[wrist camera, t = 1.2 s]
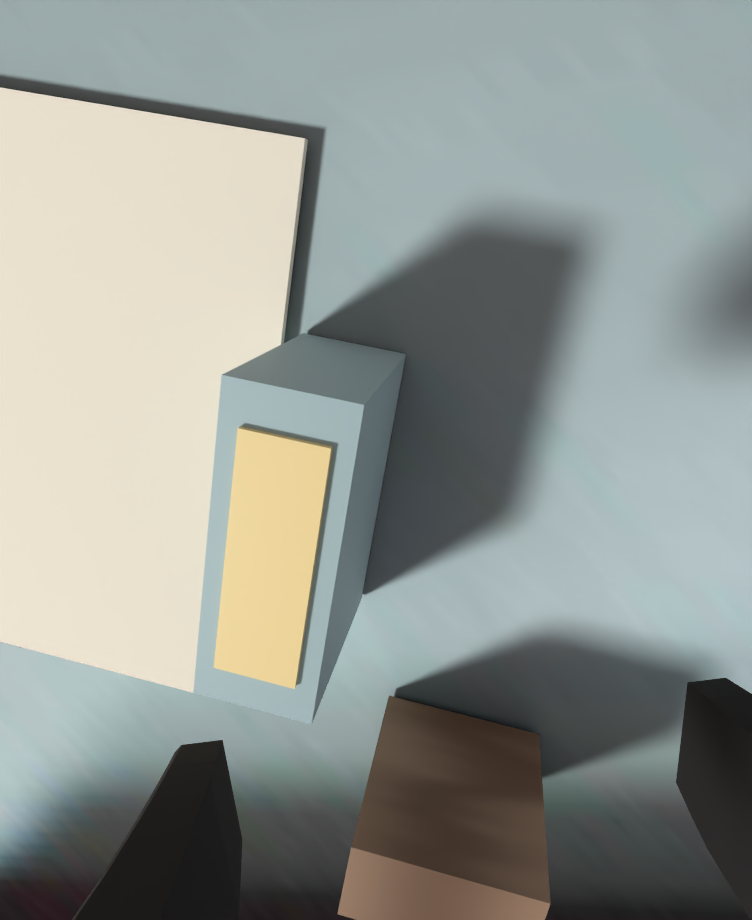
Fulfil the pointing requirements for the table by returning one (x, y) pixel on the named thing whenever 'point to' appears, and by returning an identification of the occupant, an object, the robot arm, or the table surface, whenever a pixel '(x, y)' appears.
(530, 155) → the table surface
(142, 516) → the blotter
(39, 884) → the table surface
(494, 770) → the walnut bookend
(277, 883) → the table surface
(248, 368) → the blue-grey box
